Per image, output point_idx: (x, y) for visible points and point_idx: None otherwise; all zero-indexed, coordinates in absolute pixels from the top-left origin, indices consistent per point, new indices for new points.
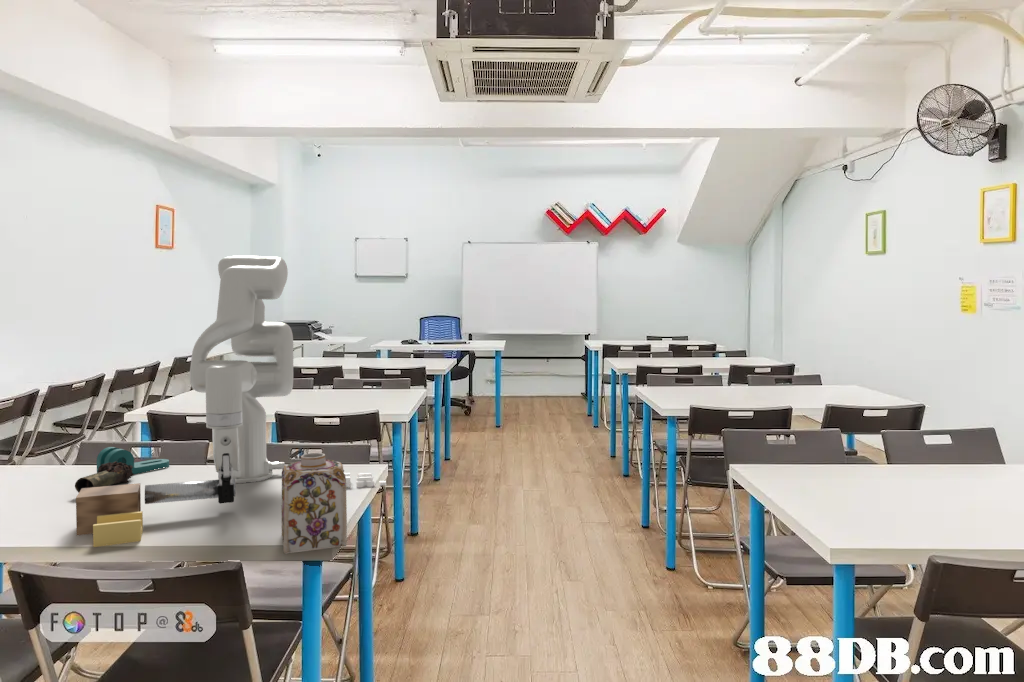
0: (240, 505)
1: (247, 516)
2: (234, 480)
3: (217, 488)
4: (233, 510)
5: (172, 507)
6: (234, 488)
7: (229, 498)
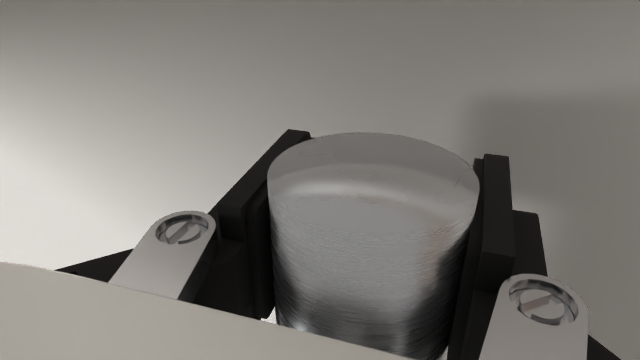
0: (231, 19)
1: (576, 5)
2: (402, 240)
3: (443, 353)
4: (339, 82)
5: None
6: (476, 204)
7: (537, 217)
